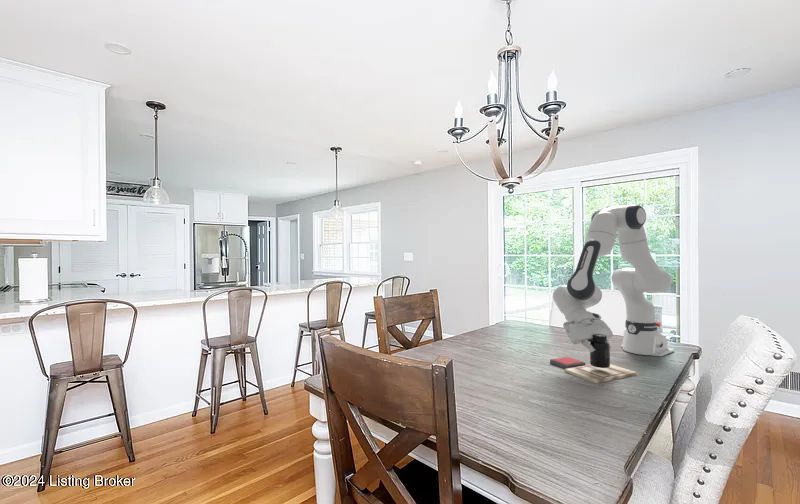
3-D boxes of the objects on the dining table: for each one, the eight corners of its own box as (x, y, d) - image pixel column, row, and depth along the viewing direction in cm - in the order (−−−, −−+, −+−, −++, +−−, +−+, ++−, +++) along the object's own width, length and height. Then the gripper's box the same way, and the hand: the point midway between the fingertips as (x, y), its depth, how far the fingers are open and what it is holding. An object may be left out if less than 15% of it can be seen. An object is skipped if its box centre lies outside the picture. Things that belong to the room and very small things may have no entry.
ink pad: (567, 360, 160) (567, 356, 160) (585, 366, 152) (585, 362, 152) (550, 363, 156) (550, 359, 156) (567, 369, 148) (567, 365, 148)
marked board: (604, 364, 154) (604, 361, 154) (636, 374, 141) (636, 371, 141) (564, 371, 145) (564, 368, 145) (595, 383, 132) (595, 380, 132)
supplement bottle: (605, 363, 146) (605, 333, 146) (613, 368, 140) (613, 337, 140) (586, 362, 147) (587, 332, 147) (594, 368, 140) (594, 336, 140)
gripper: (565, 318, 145) (586, 348, 137) (602, 314, 153) (624, 343, 144) (556, 327, 150) (577, 357, 141) (593, 323, 158) (614, 351, 149)
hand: (601, 350), depth 143 cm, fingers closed on supplement bottle, 7 cm apart
